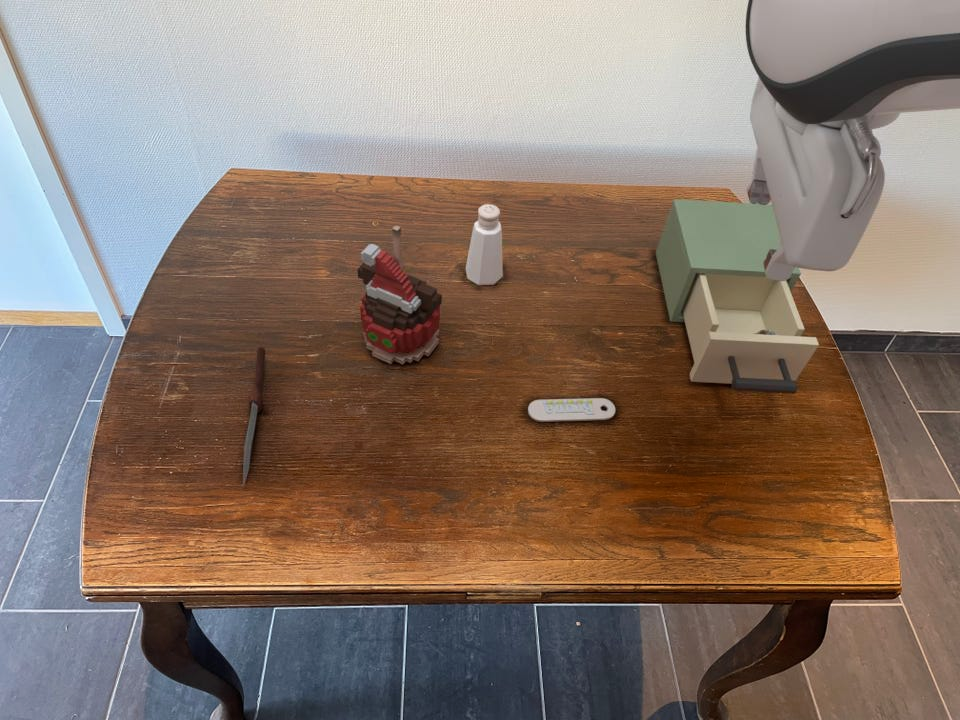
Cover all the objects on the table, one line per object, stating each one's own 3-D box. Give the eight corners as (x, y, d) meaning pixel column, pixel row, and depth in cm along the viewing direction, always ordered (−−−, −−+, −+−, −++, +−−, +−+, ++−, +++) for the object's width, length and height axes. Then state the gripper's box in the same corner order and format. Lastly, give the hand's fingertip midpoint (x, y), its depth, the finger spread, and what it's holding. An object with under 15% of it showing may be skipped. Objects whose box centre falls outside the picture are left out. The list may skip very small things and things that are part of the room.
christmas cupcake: (455, 331, 89) (460, 220, 76) (419, 380, 84) (417, 270, 70) (385, 301, 92) (378, 189, 78) (345, 346, 87) (330, 235, 73)
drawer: (802, 418, 82) (832, 377, 76) (697, 413, 82) (719, 371, 76) (766, 313, 93) (789, 270, 87) (674, 308, 93) (691, 264, 87)
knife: (252, 491, 73) (247, 477, 71) (237, 492, 73) (231, 478, 71) (271, 358, 85) (267, 342, 83) (258, 358, 85) (254, 342, 82)
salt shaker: (470, 256, 99) (474, 193, 90) (507, 265, 98) (514, 201, 90) (459, 281, 95) (462, 217, 87) (497, 290, 95) (504, 227, 86)
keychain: (613, 396, 83) (618, 416, 81) (612, 399, 84) (617, 419, 82) (527, 398, 82) (530, 419, 80) (526, 401, 83) (529, 422, 81)
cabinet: (771, 327, 93) (801, 273, 86) (670, 321, 93) (691, 267, 85) (748, 258, 102) (773, 204, 94) (655, 253, 102) (673, 198, 94)
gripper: (940, 168, 39) (831, 333, 49) (855, 10, 52) (783, 167, 62) (827, 155, 39) (742, 322, 50) (771, 1, 52) (713, 159, 63)
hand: (765, 234), depth 56 cm, fingers open, 8 cm apart
